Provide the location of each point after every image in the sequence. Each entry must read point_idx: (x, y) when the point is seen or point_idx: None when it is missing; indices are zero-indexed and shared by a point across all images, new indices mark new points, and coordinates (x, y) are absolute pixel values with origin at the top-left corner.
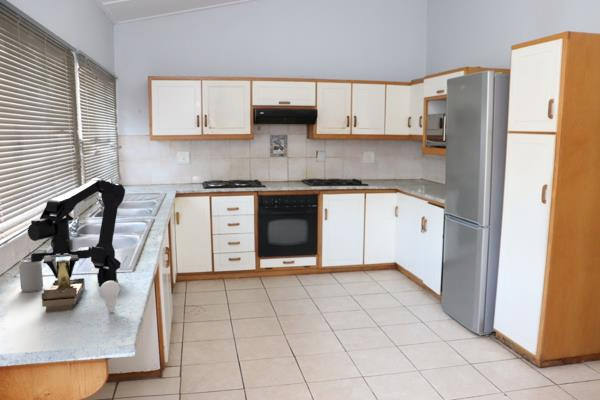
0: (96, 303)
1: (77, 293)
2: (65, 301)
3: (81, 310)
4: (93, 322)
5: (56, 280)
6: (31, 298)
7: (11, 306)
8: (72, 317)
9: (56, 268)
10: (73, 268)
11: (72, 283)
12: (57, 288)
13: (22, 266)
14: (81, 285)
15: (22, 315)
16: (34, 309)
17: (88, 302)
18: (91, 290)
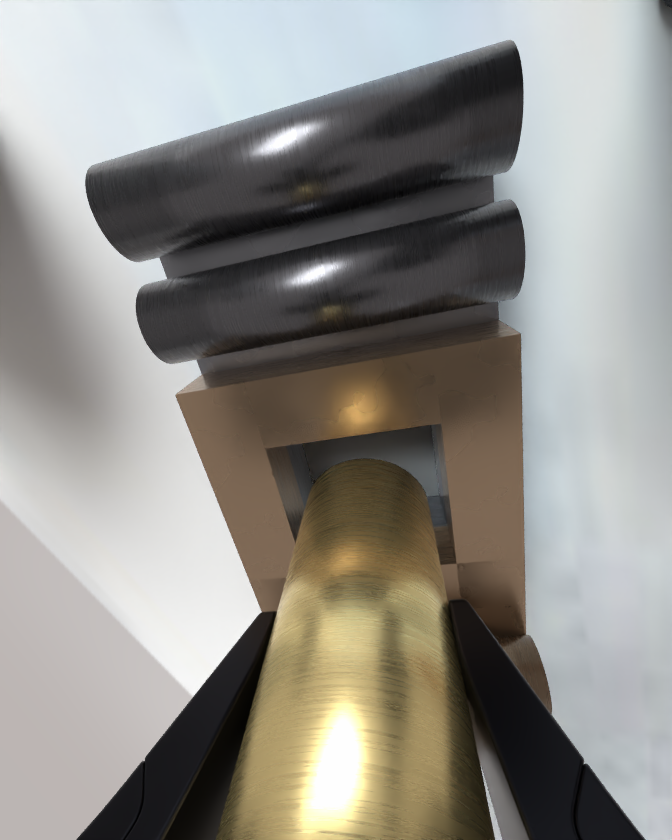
0: (638, 543)
1: (522, 599)
2: None
3: (541, 633)
4: (630, 758)
5: (115, 212)
6: (75, 391)
7: (59, 526)
8: None
9: (213, 797)
10: (566, 746)
11: (386, 318)
12: (270, 454)
13: None
14: (516, 369)
15: (221, 646)
16: (236, 584)
17: (571, 518)
18: (563, 184)
